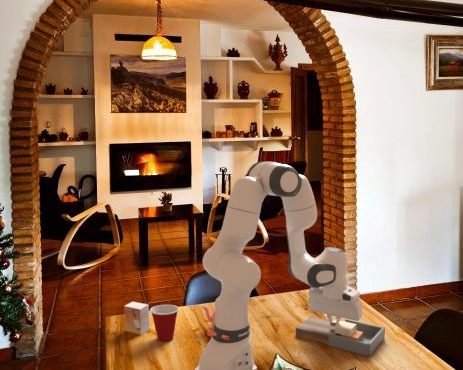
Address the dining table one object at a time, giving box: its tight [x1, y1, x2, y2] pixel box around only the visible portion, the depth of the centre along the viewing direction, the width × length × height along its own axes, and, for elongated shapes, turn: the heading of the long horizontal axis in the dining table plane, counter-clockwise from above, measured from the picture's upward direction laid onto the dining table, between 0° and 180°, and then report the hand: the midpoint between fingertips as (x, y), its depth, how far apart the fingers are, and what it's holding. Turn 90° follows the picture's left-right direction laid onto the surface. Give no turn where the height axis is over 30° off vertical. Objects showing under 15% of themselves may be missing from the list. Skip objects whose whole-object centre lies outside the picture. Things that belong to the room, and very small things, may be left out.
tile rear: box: [335, 320, 357, 337], centre depth 182 cm, size 6×6×2 cm
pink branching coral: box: [200, 305, 215, 331], centre depth 193 cm, size 12×18×10 cm, turn 81°
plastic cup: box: [149, 304, 180, 343], centre depth 186 cm, size 11×11×12 cm
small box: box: [123, 301, 151, 336], centre depth 193 cm, size 8×6×10 cm
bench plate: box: [295, 315, 341, 345], centre depth 188 cm, size 13×14×3 cm
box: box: [328, 318, 386, 358], centre depth 180 cm, size 16×15×4 cm
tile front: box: [342, 331, 363, 341], centre depth 181 cm, size 6×6×2 cm
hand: (334, 326), depth 185 cm, fingers closed
